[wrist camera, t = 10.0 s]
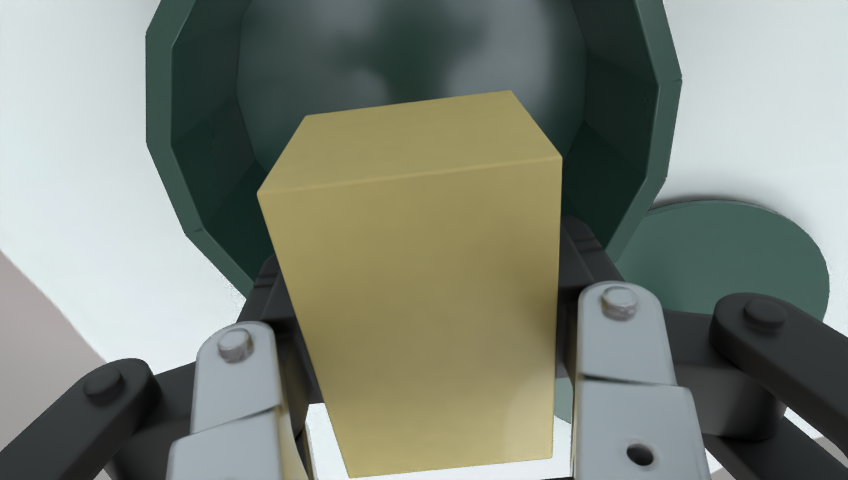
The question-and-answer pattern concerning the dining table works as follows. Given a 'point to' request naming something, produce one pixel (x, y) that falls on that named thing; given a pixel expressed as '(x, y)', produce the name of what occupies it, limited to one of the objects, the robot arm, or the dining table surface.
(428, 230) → the butter
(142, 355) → the dining table surface
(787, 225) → the pot lid
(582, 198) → the pot
